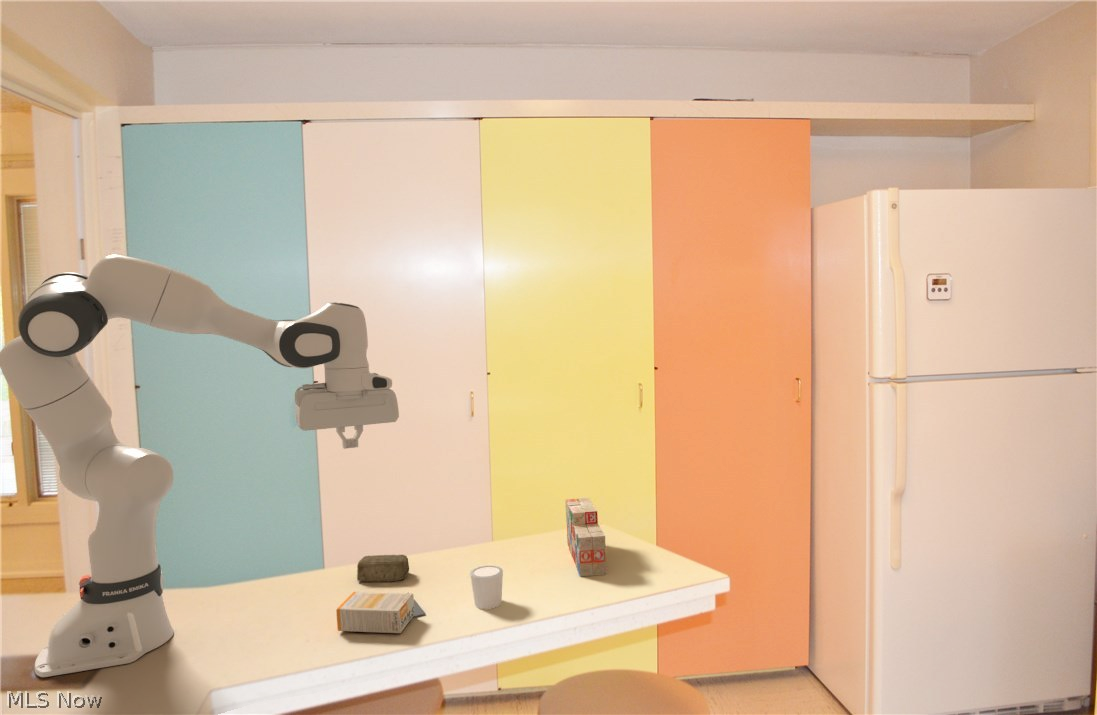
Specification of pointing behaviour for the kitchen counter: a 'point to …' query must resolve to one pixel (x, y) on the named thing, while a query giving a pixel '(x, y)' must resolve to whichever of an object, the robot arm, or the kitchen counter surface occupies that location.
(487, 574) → the white cup
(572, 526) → the stack of blocks
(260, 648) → the kitchen counter surface
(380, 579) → the stone block
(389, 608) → the supplement box
